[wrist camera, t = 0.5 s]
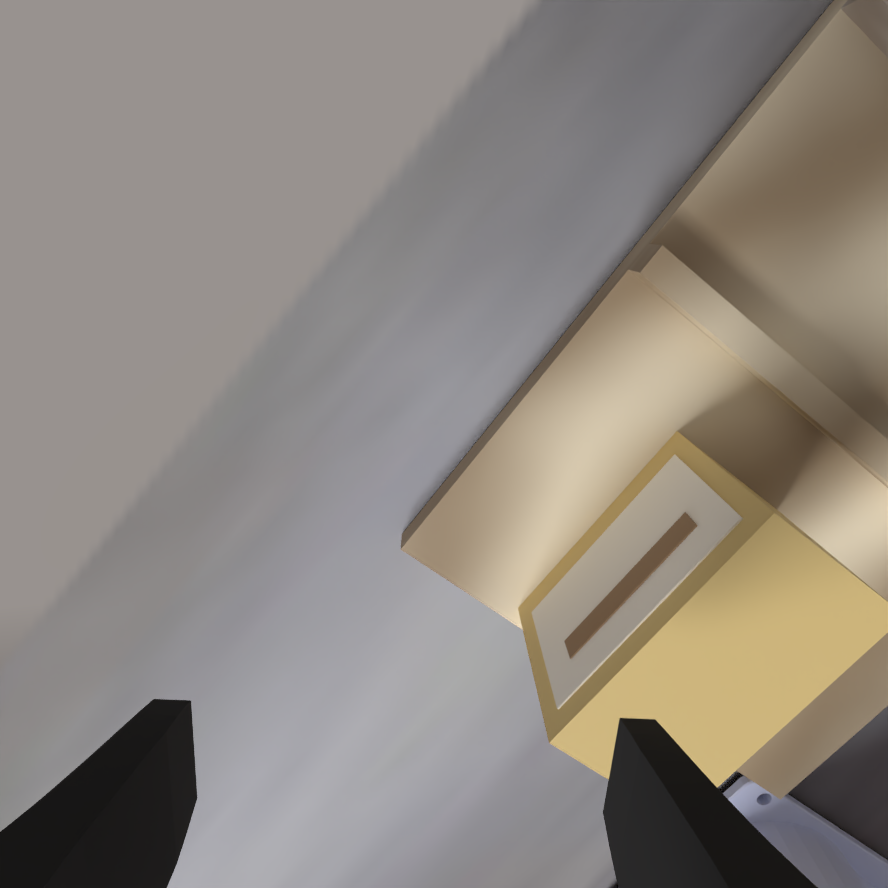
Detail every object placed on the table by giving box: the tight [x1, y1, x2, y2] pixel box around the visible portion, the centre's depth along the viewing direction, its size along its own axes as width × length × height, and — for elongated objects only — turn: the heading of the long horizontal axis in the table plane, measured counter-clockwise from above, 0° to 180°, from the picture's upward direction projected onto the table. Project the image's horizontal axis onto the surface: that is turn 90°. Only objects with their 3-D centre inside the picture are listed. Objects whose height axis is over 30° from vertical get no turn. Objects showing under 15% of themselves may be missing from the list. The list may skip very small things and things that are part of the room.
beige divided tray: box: [401, 0, 888, 800], centre depth 19 cm, size 16×18×2 cm
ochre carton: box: [518, 431, 888, 787], centre depth 17 cm, size 7×4×6 cm, turn 143°
